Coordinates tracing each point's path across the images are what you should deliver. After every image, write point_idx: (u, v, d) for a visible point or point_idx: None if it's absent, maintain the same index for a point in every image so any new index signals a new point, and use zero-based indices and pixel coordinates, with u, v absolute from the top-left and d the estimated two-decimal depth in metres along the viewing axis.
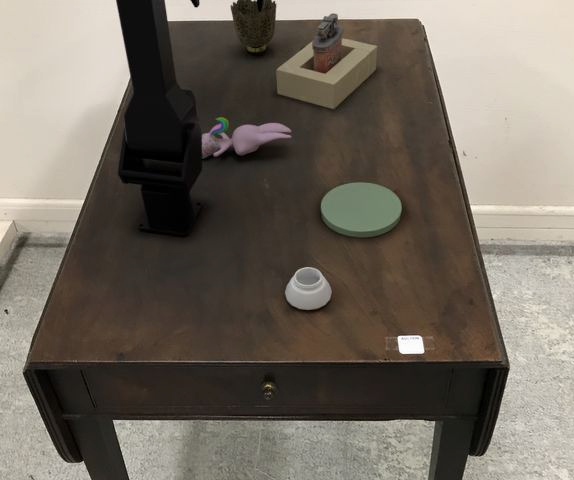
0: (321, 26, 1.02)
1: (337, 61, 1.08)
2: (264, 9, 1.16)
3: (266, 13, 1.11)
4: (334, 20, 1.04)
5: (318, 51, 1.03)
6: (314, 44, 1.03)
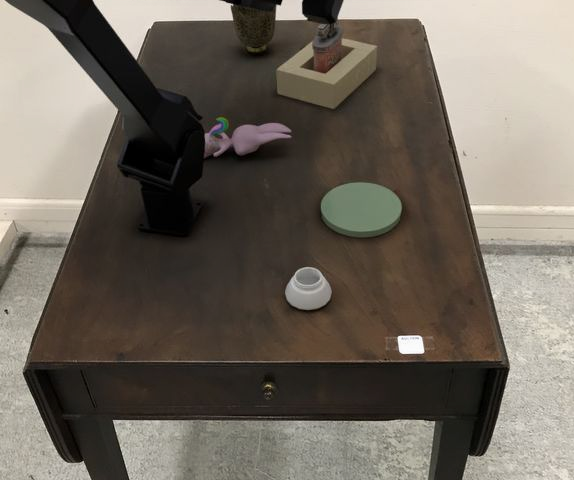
0: (321, 26, 1.02)
1: (337, 61, 1.08)
2: None
3: (266, 13, 1.11)
4: None
5: (318, 51, 1.03)
6: (314, 44, 1.03)
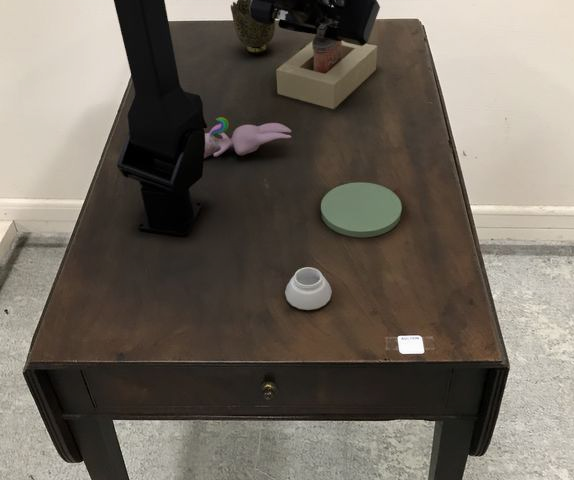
0: (321, 26, 1.02)
1: (337, 61, 1.08)
2: None
3: None
4: None
5: (318, 51, 1.03)
6: (314, 44, 1.03)
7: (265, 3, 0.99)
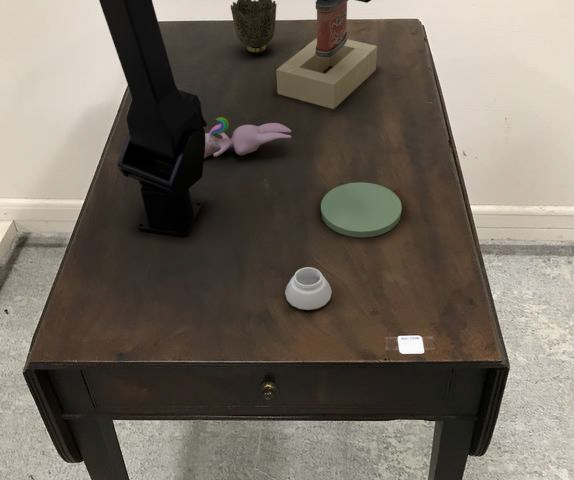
0: None
1: (342, 24, 1.02)
2: (264, 9, 1.16)
3: (266, 13, 1.11)
4: None
5: (321, 11, 0.98)
6: (317, 3, 0.98)
7: None
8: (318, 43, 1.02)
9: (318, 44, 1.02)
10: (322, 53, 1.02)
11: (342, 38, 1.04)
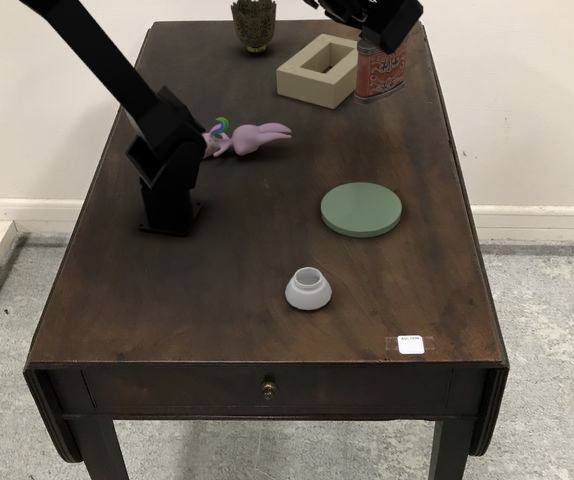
0: None
1: (391, 71, 0.89)
2: (264, 9, 1.16)
3: (266, 13, 1.11)
4: None
5: (360, 52, 0.86)
6: (358, 43, 0.86)
7: None
8: (356, 86, 0.90)
9: (356, 87, 0.90)
10: (358, 98, 0.90)
11: (391, 87, 0.91)
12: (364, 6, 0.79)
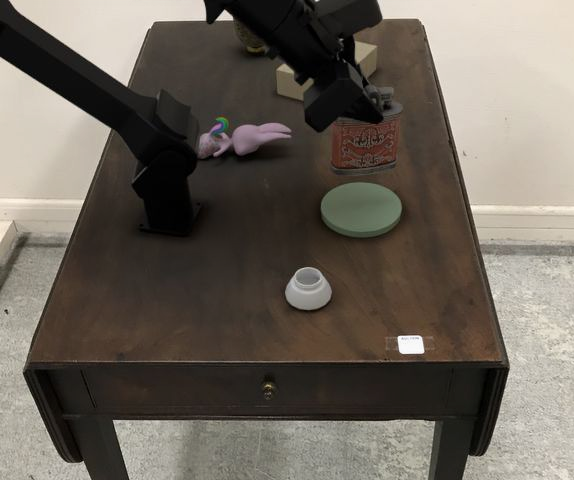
0: None
1: (371, 148, 0.79)
2: None
3: None
4: (375, 95, 0.75)
5: None
6: None
7: None
8: None
9: None
10: (331, 166, 0.82)
11: (372, 164, 0.81)
12: (318, 73, 0.71)
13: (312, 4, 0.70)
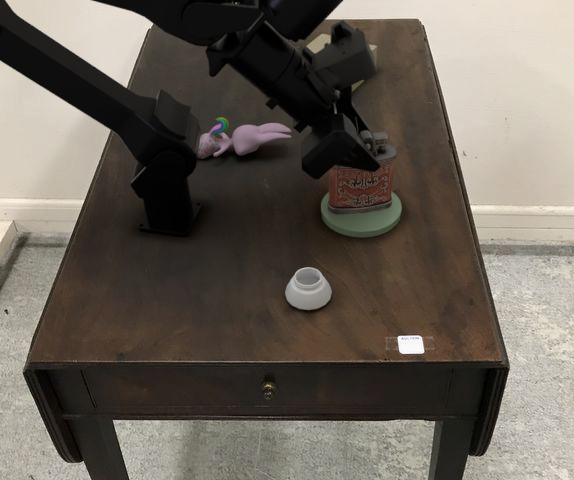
0: None
1: (366, 189, 0.83)
2: None
3: None
4: (369, 140, 0.79)
5: None
6: None
7: None
8: None
9: None
10: (328, 205, 0.85)
11: (368, 204, 0.84)
12: (316, 122, 0.74)
13: (310, 56, 0.73)
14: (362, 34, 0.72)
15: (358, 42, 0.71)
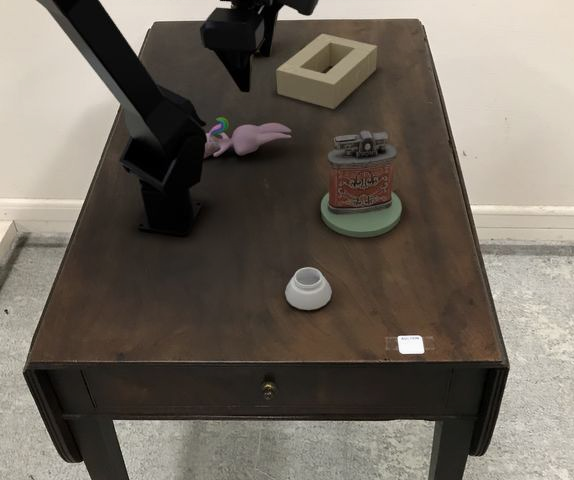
0: (340, 137, 0.79)
1: (366, 189, 0.83)
2: None
3: None
4: (369, 140, 0.79)
5: (328, 163, 0.81)
6: (331, 153, 0.81)
7: None
8: None
9: None
10: (328, 206, 0.85)
11: (368, 204, 0.84)
12: (238, 5, 0.77)
13: None
14: None
15: None
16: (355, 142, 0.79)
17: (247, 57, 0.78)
